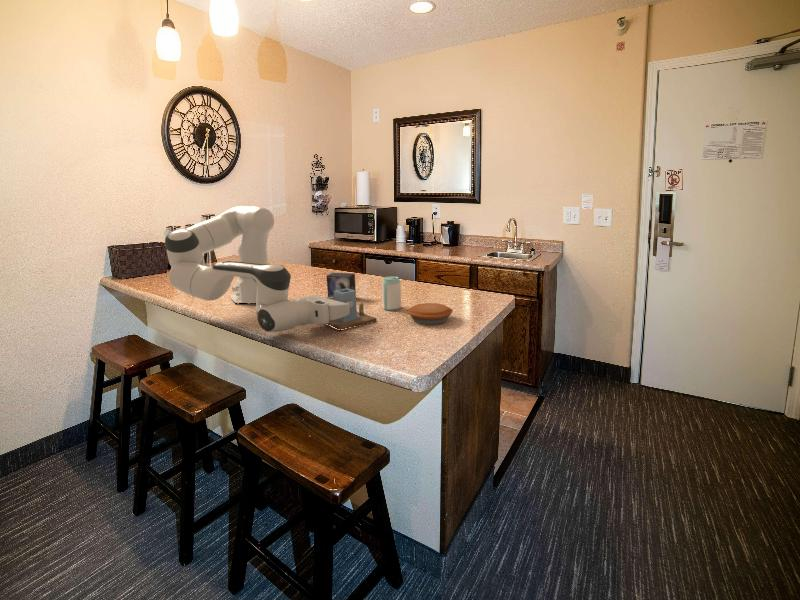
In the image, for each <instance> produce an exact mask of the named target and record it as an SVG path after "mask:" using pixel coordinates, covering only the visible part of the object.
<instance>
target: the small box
mask: <svg viewBox="0 0 800 600" xmlns="http://www.w3.org/2000/svg"><path fill="white" fill-rule="evenodd" d="M346 288H347V289H351V290H355V291H356V273H355V272H354V273H351V272H350V273H349V272H331V273H329V274H327V275H326V289H327V297H334V291H336V290H341V289H346ZM356 292H357V291H356Z"/></svg>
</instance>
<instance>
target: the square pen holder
mask: <svg viewBox="0 0 800 600" xmlns="http://www.w3.org/2000/svg"><path fill="white" fill-rule="evenodd" d="M355 290H356V289H355ZM355 290H351V289H347V288H346V289H341V290H336V291H334V300H336V301H340V302H344V303H346V302H347V301H352V302H353V306H352V307H349V308H350V313H349V315H347V316H345V317H342V318H339V319H336V320H337V321H340V322H343V323H345V322H349V321H353V320H356V319H360V318H361V316H359V315H357V312H358V311H357V293H356V292H357V291H355Z"/></svg>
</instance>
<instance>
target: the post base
mask: <svg viewBox="0 0 800 600" xmlns="http://www.w3.org/2000/svg"><path fill="white" fill-rule="evenodd" d="M364 307H365V306H364V303H362V302H360V303H358V311H357V315H359V316H361V318H360V319H356V320H353V321H349V322H345V323H343V322H340V321H337V320H329V323H327V324H328V325H331V326H333V327H335V328H337V329H340V330H341V329H345V328H349V327H354V326H358V327H360V326H359V325H362V326H364V325H363V324H366V325H368V324H367V323H370V324H372V323H371V322H373V323H376V321H377V320H378V319H377V317H374V316H371V315H368V314H366V313H364V311H365V309H364ZM377 322H378V321H377ZM354 328H355V327H354Z"/></svg>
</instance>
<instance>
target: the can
mask: <svg viewBox="0 0 800 600" xmlns="http://www.w3.org/2000/svg"><path fill="white" fill-rule="evenodd" d="M401 290H402V289H401V281H400V278H399V276H392V275H391V276H383V279H382V281H381V295H382V296H381V299H382V301H381V303H382V305H381V306H382V309H384V310H385V309H386V310H385V311H397V309H398V310H399V309H401V307H402V305H401V304H402V297H401V295H402V293H401Z"/></svg>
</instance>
